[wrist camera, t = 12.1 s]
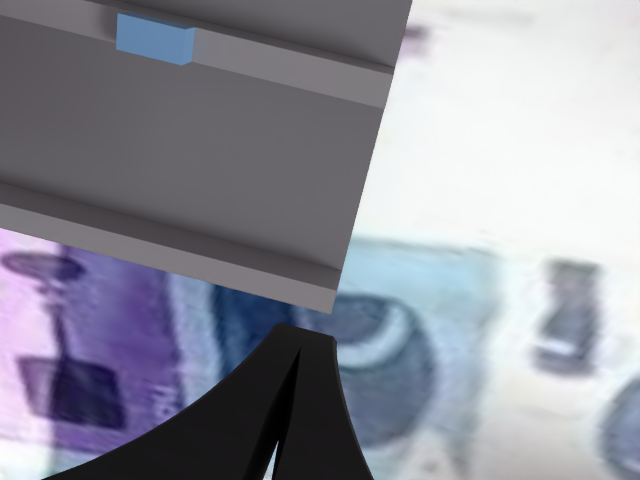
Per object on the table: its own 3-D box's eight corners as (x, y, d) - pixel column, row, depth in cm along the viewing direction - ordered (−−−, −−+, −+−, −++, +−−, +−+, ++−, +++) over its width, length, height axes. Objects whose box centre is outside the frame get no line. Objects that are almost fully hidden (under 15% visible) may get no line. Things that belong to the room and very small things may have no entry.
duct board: (4, 193, 23) (-56, 226, 20) (-19, -324, 16) (-117, -391, 13) (338, 280, 22) (327, 326, 20) (468, -217, 15) (482, -262, 12)
